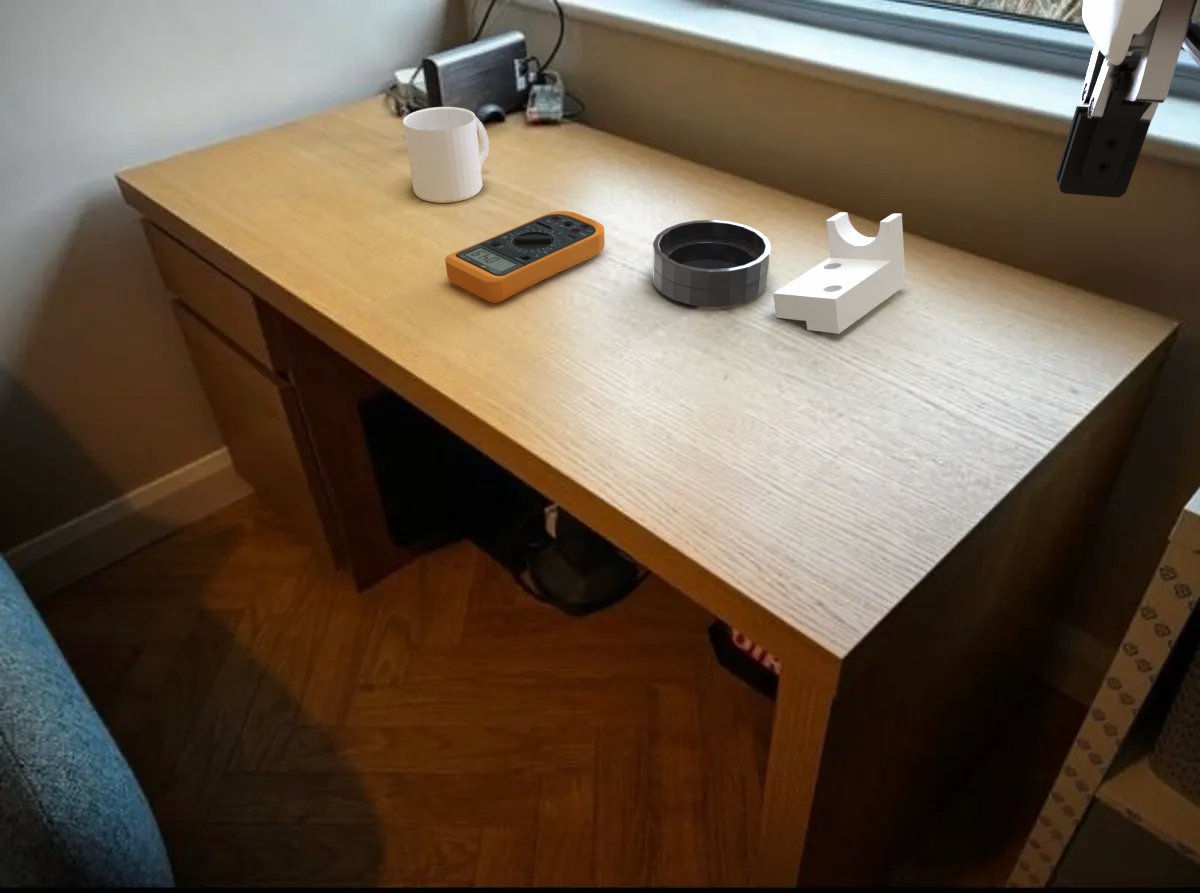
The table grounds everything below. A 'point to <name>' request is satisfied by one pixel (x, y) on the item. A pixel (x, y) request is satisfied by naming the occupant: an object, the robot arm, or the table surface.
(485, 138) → the mug
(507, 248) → the multimeter
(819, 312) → the bracket
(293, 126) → the table surface
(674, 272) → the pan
